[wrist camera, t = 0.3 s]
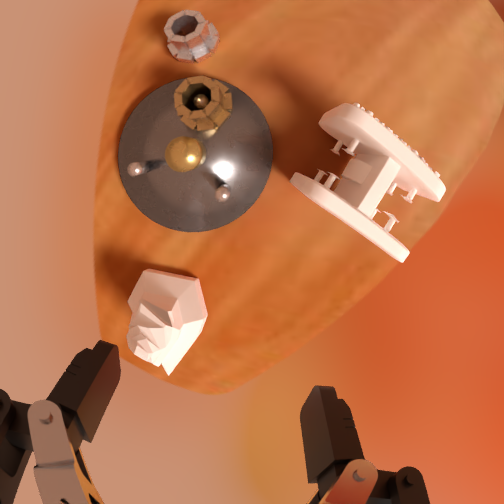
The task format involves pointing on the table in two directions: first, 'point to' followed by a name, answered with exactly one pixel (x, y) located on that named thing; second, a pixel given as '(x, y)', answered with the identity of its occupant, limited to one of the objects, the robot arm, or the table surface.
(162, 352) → the white faceted rock
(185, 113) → the seated gear
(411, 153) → the cable organizer
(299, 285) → the table surface
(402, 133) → the table surface
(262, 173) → the carrier
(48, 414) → the robot arm
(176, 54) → the gear
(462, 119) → the table surface
